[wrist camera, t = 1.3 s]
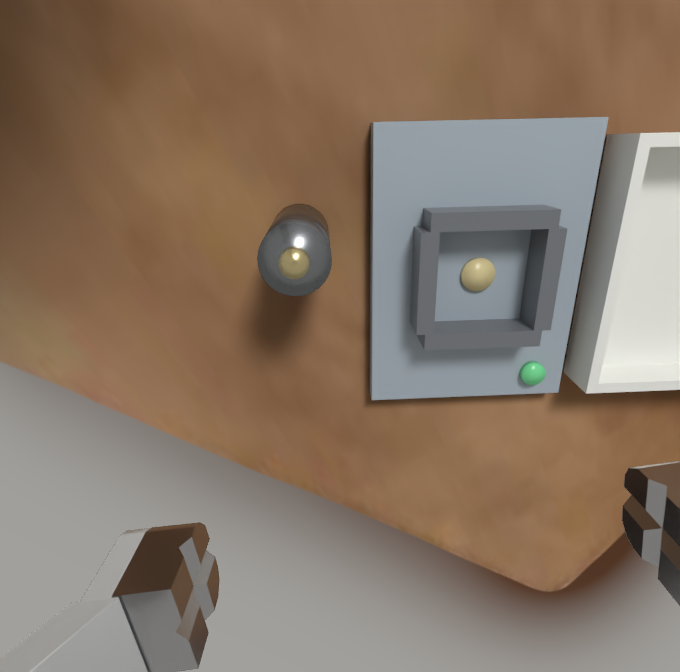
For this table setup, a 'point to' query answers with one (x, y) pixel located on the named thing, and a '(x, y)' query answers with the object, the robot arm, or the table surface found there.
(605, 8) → the table surface
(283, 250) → the cell
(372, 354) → the tester cradle
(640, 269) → the tray
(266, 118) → the table surface
